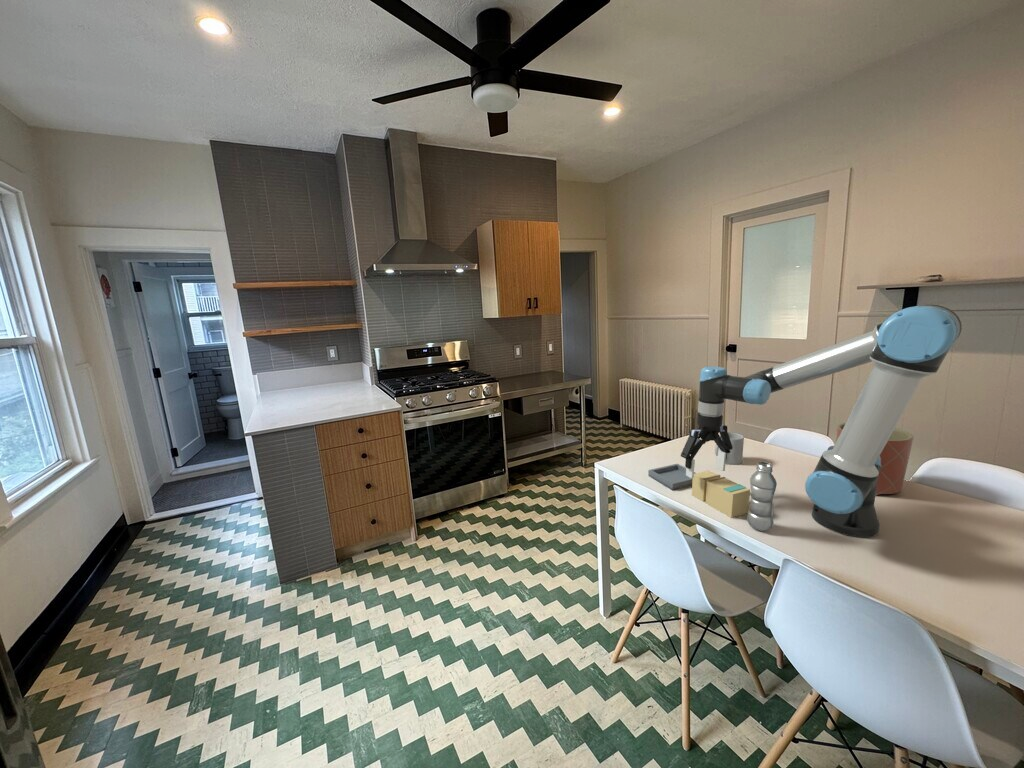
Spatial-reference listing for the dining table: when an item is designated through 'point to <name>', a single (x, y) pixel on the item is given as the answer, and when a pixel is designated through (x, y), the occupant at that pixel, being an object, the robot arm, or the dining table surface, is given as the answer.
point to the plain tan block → (702, 484)
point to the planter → (891, 461)
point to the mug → (734, 449)
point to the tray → (671, 476)
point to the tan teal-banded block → (727, 496)
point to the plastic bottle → (762, 497)
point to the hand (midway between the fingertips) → (705, 473)
